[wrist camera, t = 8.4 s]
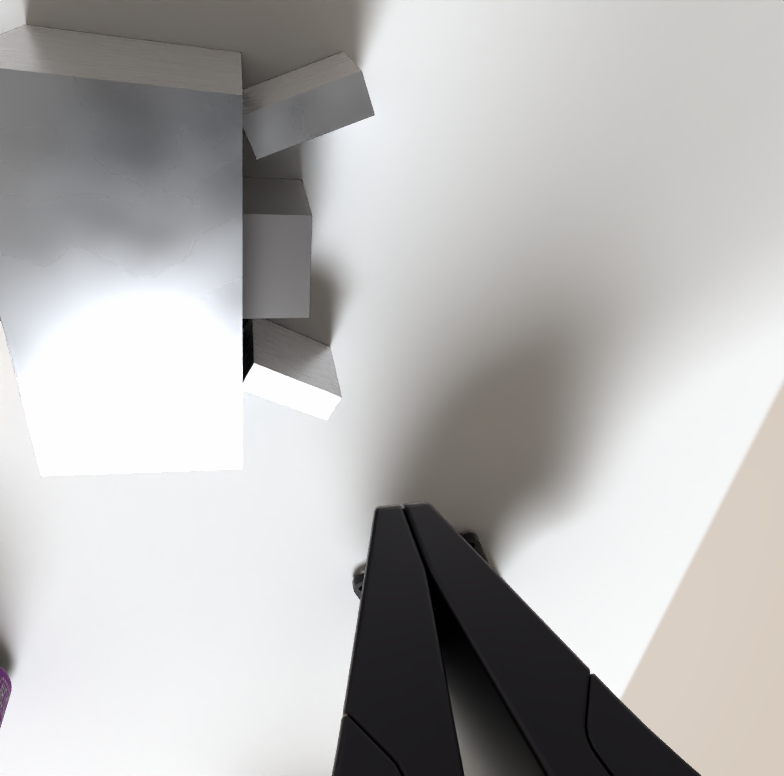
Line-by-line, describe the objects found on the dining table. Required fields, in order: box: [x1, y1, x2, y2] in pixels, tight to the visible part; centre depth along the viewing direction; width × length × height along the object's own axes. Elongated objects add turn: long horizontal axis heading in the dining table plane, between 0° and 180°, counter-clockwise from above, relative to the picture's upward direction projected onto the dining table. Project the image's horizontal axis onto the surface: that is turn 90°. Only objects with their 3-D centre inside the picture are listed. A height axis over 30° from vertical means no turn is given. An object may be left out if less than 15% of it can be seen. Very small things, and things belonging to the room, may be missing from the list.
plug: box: [0, 177, 312, 321], centre depth 16 cm, size 14×4×4 cm, turn 84°
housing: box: [0, 25, 375, 476], centre depth 16 cm, size 8×10×6 cm
